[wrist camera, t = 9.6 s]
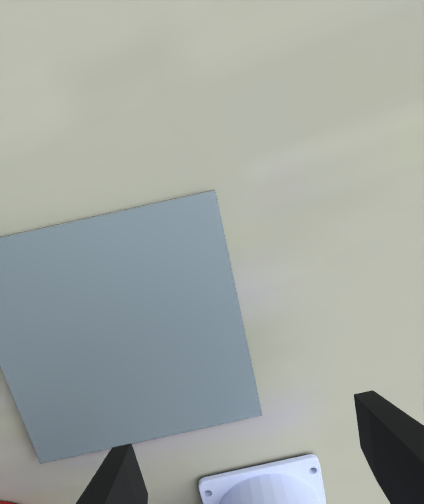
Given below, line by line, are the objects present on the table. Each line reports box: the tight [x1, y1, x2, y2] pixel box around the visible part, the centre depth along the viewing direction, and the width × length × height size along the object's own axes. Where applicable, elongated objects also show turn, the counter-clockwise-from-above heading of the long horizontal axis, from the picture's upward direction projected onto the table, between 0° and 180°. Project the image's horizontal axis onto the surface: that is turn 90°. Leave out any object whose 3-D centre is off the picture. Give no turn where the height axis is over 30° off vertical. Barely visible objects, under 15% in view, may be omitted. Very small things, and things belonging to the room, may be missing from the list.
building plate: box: [0, 190, 262, 464], centre depth 21 cm, size 14×14×1 cm
